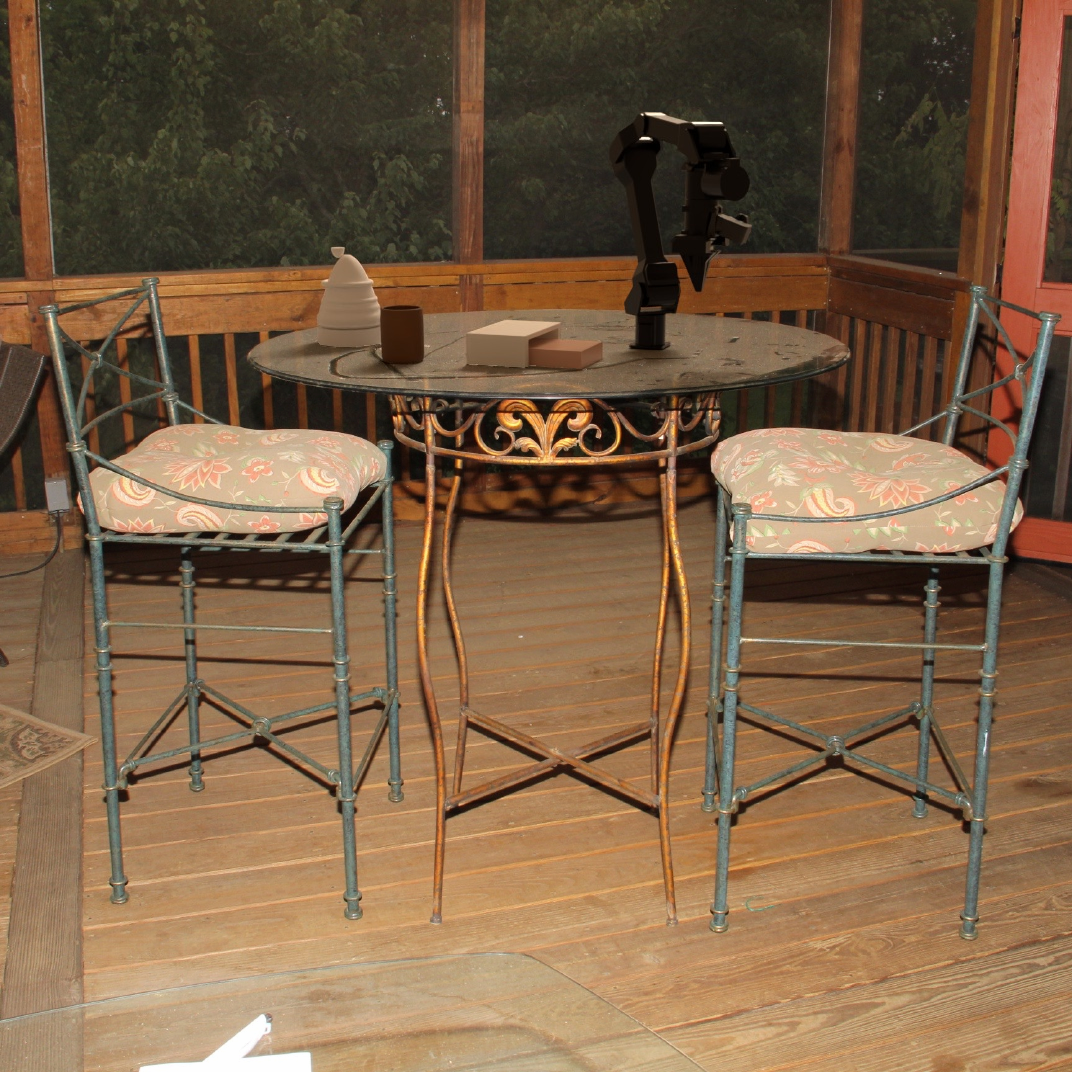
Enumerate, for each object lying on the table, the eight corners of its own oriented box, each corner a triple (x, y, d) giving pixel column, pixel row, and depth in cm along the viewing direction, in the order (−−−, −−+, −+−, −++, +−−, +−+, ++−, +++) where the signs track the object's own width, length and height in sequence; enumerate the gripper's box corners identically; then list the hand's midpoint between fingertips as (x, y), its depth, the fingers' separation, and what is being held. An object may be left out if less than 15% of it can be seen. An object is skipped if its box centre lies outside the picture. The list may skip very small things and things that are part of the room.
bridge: (505, 349, 237) (505, 319, 235) (561, 352, 233) (561, 322, 232) (466, 364, 221) (466, 333, 219) (525, 368, 217) (525, 336, 216)
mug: (379, 354, 232) (377, 302, 230) (420, 352, 234) (418, 301, 231) (383, 365, 221) (380, 310, 218) (426, 363, 222) (424, 309, 220)
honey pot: (306, 346, 242) (300, 249, 237) (336, 336, 254) (331, 244, 248) (368, 349, 238) (363, 251, 233) (395, 339, 250) (391, 245, 245)
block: (509, 355, 234) (509, 336, 233) (602, 360, 228) (602, 341, 226) (484, 365, 223) (483, 346, 222) (581, 371, 217) (581, 351, 216)
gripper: (736, 202, 205) (732, 299, 210) (759, 197, 222) (755, 287, 227) (670, 201, 209) (667, 297, 214) (697, 196, 226) (694, 285, 230)
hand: (698, 291), depth 221 cm, fingers closed
